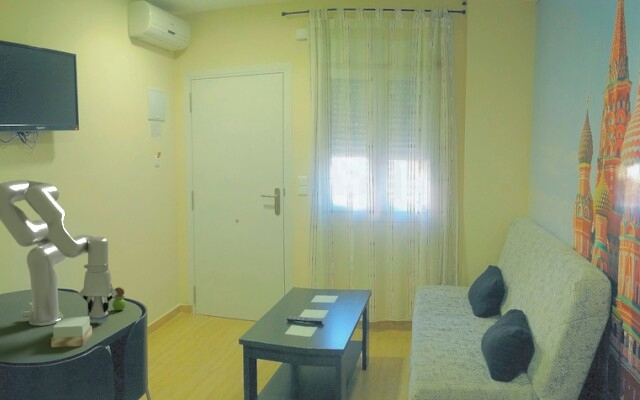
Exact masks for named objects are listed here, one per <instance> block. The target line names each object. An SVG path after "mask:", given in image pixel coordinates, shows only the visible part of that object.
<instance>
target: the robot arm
mask: <svg viewBox="0 0 640 400" xmlns="http://www.w3.org/2000/svg"><path fill="white" fill-rule="evenodd" d="M59 197H60V193H59V190H58V188H57V187H56V186H55V185H53V184H51V183H48V182H40V181H35V180H27V179H20V180H19V179H18V180H10V181H5V182H1V183H0V222H1V223H2V224H3V225H4V227H5V228H6V229H7V231H8V233H9V234H10V235H11V236H12V238H13V239H14V240H15V242H16V243H17V245H19V246H21V247H23V248H27V247H31V246H35V245H37V246H35V247H33V248H32V249H30V250H29V251H28V254H27V255H26V264H27V268H28V271H29V279H30V290H31V305H32V307H31V310H30V311H29V310H23V311H22V316H23V318H29V319H28V323H29V325H31V326H33V327H34V326H35V327H42V326H49V325H50V326H51V325H53V324H54V325H55V324H56V323H57V322H58V321H59V320H60V319H61V318H64V314H63V313H60V309H59V308H60V307H59V306H60V305H59V295H58V294H59V291H58V290H59V289H58V276H57V273H56V270H55V268H54V266H55V265H57V264H59V263H61V262H63V261H64V260H65V259H66V258H69V259H75V258H77V257H79V256H81V255H84V254H87V264H84V265H83V266H84V267H83V268H84V269H86V270H87V271H85V273H84V278H83V279H84V280H83V288H82V289H81V290H80V291H79V293H78V295H79V296H80V297H82V298H83V299H84V301H86V303H87V310H88V313H89V312H91V307H92V304H93V302H94V299H93V298H94V297H102V298H103V302H104V304H103V311H104V312H106V311H107V312H108V310H109V302H110V301H111V300H112V299H113V298H114V297H115V296H116V295H117V292H116V291H115V288H114V287H113V283H112V282H113V281H112V274H111V270H109V240H108V239H107V237H103V236H92V235H88V234H80V235H77V236H74V237H72V236H71V235H70V234H69V232H68V231H67V230H66V228H65V226H64V219H65V217H66V215H67V212H66V210H65V209H64V208H63V207H62V206H61V205H60V204H59V202H58V199H59ZM21 201H22V202H23V201H25V202H26V203H27V204H28V205H29V206H30V208H31V209H32V210H33V211H34V212H35V213H36V214H37V216H39V218H40V220H39V219H37V220H33V221H32V220H31V219H30V218H29V217H28V216H27V215H26V213H25V212H24V211H23V210H22V209H21V208H20V207H19V206H17V205H15V204H14V203H16V202H21ZM111 293H112V294H111Z"/></svg>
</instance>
